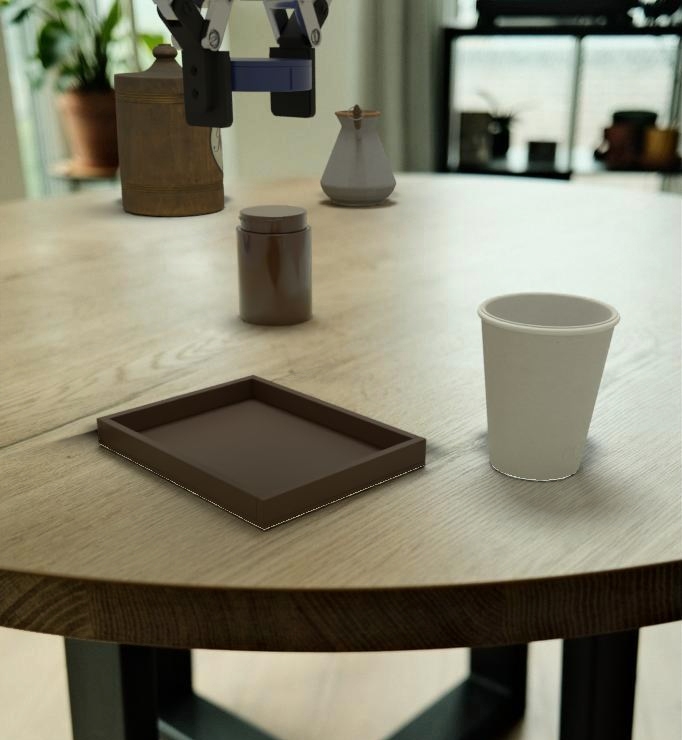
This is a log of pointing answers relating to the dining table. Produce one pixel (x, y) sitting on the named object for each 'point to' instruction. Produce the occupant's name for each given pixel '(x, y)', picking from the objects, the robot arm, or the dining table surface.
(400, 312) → the dining table surface
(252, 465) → the tray
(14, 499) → the dining table surface
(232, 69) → the lid
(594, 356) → the dixie cup
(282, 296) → the jar
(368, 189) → the coffee pot
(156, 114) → the wooden container
